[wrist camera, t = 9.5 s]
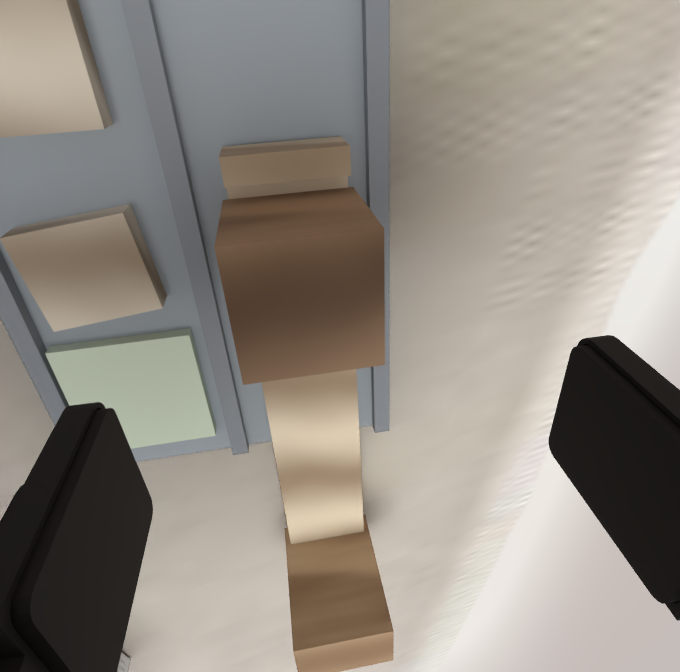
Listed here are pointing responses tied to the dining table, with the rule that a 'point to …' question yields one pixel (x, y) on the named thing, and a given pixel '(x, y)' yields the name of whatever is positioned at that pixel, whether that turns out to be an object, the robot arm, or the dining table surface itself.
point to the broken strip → (57, 117)
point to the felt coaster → (140, 384)
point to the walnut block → (303, 283)
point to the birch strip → (318, 453)
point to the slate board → (200, 169)
